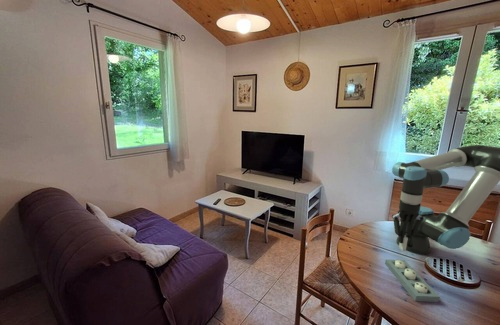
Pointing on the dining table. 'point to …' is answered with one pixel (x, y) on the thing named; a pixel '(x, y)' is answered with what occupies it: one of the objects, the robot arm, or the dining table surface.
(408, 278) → the button
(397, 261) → the button
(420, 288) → the button
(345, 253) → the dining table surface
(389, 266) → the button board
